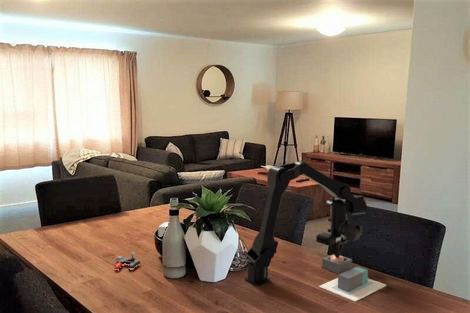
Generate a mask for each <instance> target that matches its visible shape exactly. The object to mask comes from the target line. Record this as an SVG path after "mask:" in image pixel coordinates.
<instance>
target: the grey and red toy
mask: <svg viewBox="0 0 470 313" xmlns="http://www.w3.org/2000/svg"><path fill="white" fill-rule="evenodd" d="M116 260H119V261H117V262H116V265H115V266H114V270H115V269H119V268H120V267H121V266H122V264H124V263H126V264H129V266H128V267H129V268H134V267H135V266H136V265H138V264H140V265H141V260H140V259H139V258H137V259H136V257H135V251H132V253H131V257H128V256H125V257H124V256H120V255H117V257H116V259H115V261H116ZM121 268H122V267H121ZM129 268H128V269H129Z"/></svg>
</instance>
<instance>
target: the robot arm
mask: <svg viewBox="0 0 470 313" xmlns="http://www.w3.org/2000/svg"><path fill="white" fill-rule="evenodd" d="M302 175H303V176H304V177H305V178H308V179H309V180H311V181H313V182H315V183H316V184H317V185H319V186H321V187H322V188H323V189H324V190H325V191H326V192H327V193H328V194H329V195H331V196H332V197H329V199H327V200H326V201H325V204H326V205H329V206H330V217H328V219H327V221H328V222H330V228H328V229H327V232H328V233H327V232H321V233H318V234H317V235H316V236H315V242H316V243H318V244H323V245H325V246H330V248H331V250H332V252H333V254H334V255H335V257H337V258H338V257H339V256H341V253H342V251H343V248H344V245H345V244H346V243H347V242H349V241H350V242H355V241H358V240H359V239H360V237H361V236H362V235H363V225H361V224H360V223H359V224H356V225H354V224H351V222H350V219H348V216H356V215H364V214H366V213H367V211H368V205H367V202H366V200H365V196H364V195H355V196H354V194H353V192H352V191H351V186H350V185H349V184H348V183H346V182H345V183H344V182H343V181H339V180H336V179H333V178H332V177H329V176H327V175H326V174H325V173H322V172H321V171H319V170H317V169H316V168H314V167H312V166H310V165H309V164H308V163H307V162H305V161H301V160H297V161H294V162H291V163H286V164H281V165H273V166H271V167H270V168H268V171H267V180H266V182H267V188H268V193H267V197H266V202H265V207H264V212H263V216H262V221H261V225H260V226H261V227H260V230H259V232H258V233H257V235H256V236H255V238H254V240H253V243H252V245H251V247H250V249H249V250H248V251H247V252H246V253H245V255H244V256H245V258H246V260H247V261H248V263H247V277H245V278H244V281H246V282H249V283H251V284H252V285H256V286H260V285H263V284H265V283H268V282H270V281H271V278H269V277H268V276H269V274H268V273H269V271H268V270H269V268H268V267H269V266H270V265H271V264H270V263H271V261H272V259H273V258H274V257H275V254H277V248H278V245H279V241H278V240H277V239H275V236H274V234H275V231H276V230H275V229H276V226H277V222H278V221H277V220H278V216H279V212H280V206H281V202H282V197H283V194H284V193H285V192H286V190H288V187H289V186H290V182H291V181H293V180H295V179H298V177H300V176H302ZM333 197H335V198H333Z"/></svg>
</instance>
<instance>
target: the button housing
mask: <svg viewBox="0 0 470 313" xmlns="http://www.w3.org/2000/svg"><path fill="white" fill-rule="evenodd" d="M332 255H334V253H333V254H331V255H328V256H325V257H323V258H322V262H321V263H322V265H321V267H320V268H321V269H324V270H327V271H330V272H333V273H335V274H337V275H339V274H341V273H344V272H346V271H348V270H351V269H353V268H354V267H353V266H352V265H353V259H352V258H349V257H346V256H343V257H344V261H343V262H340V263H338V262H335V261H332V260H331V256H332Z"/></svg>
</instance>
